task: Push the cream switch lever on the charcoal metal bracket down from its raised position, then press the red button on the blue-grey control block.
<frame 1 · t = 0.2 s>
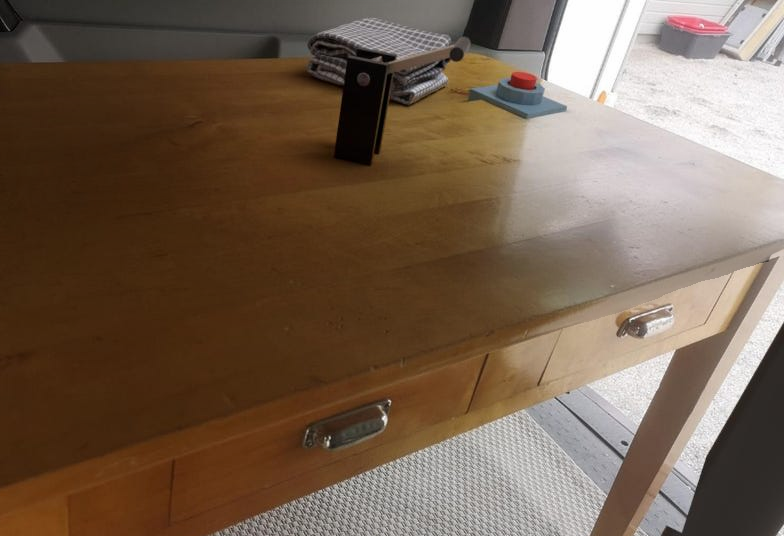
switch bracket: (355, 166, 90), on the table
control block: (514, 111, 113), on the table
lever: (411, 61, 82), point 13 cm above the table, hinge at 25.0°
button: (522, 81, 110), point 4 cm above the table, slide at 0.1 cm
towel: (377, 84, 117), on the table
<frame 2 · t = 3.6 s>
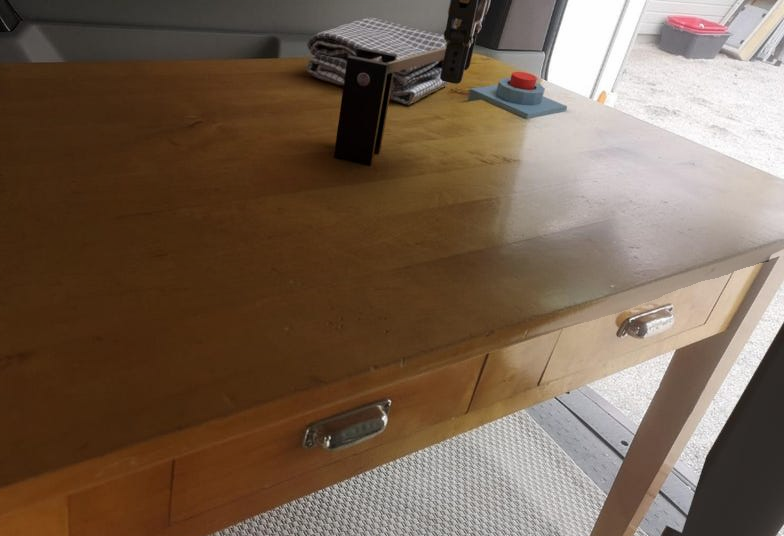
hand: (454, 73, 81), 13 cm above the table, tool pointing down, fingers closed on lever, 5 cm apart
lever: (411, 61, 82), point 13 cm above the table, hinge at 25.0°, touching gripper
everything else where it was.
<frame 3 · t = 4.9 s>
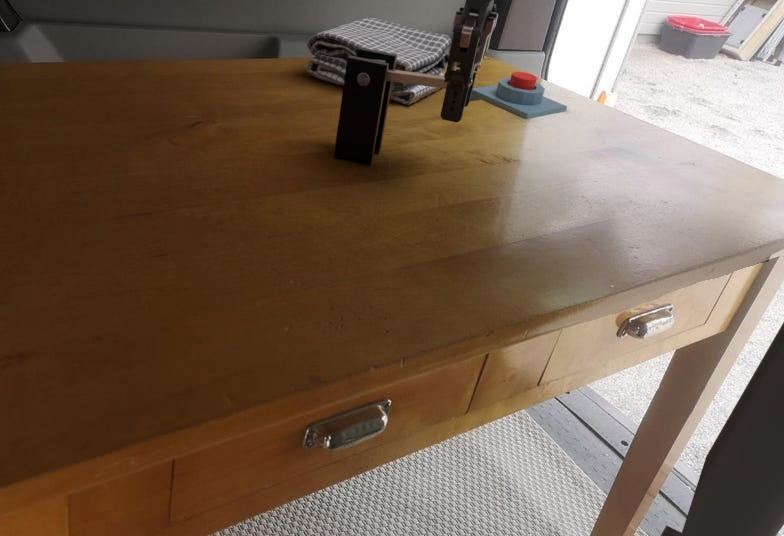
hand: (454, 111, 83), 9 cm above the table, tool pointing down, fingers closed on lever, 5 cm apart
lever: (411, 78, 83), point 11 cm above the table, hinge at 3.8°, touching gripper
everything else where it was.
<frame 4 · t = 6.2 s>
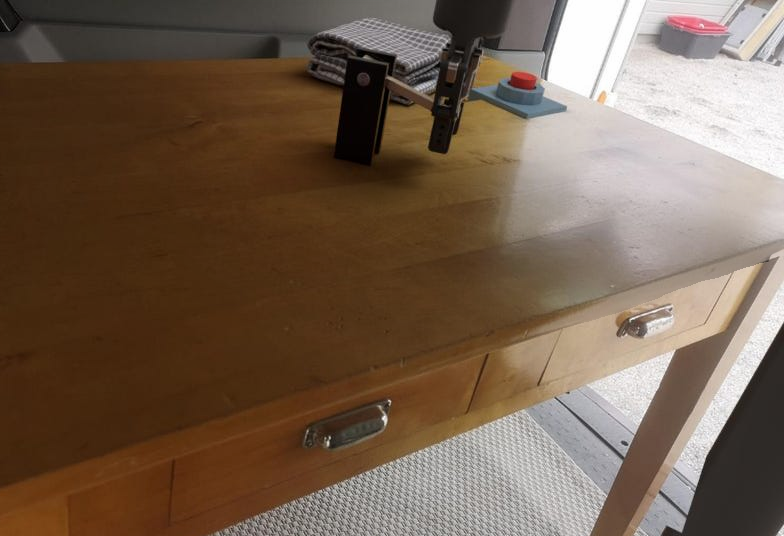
hand: (442, 141, 85), 5 cm above the table, tool pointing down, fingers open, 6 cm apart
lever: (407, 92, 84), point 10 cm above the table, hinge at -15.6°
everything else where it was.
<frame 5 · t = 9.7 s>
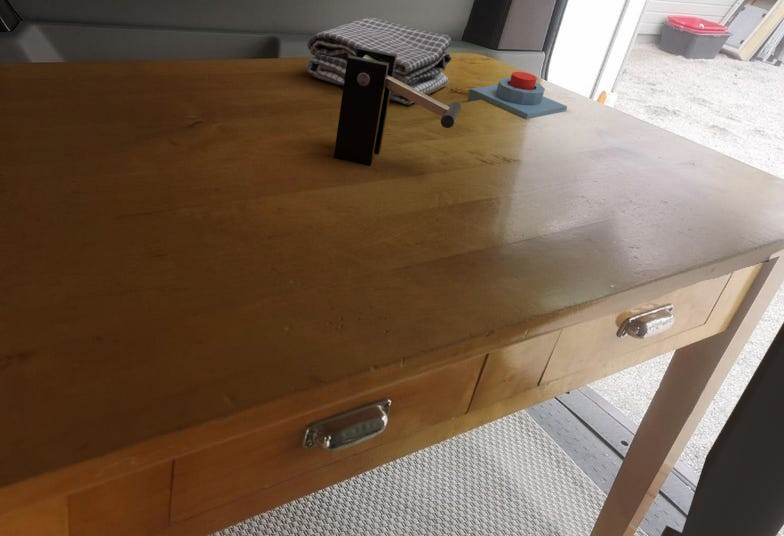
nothing on the table moved.
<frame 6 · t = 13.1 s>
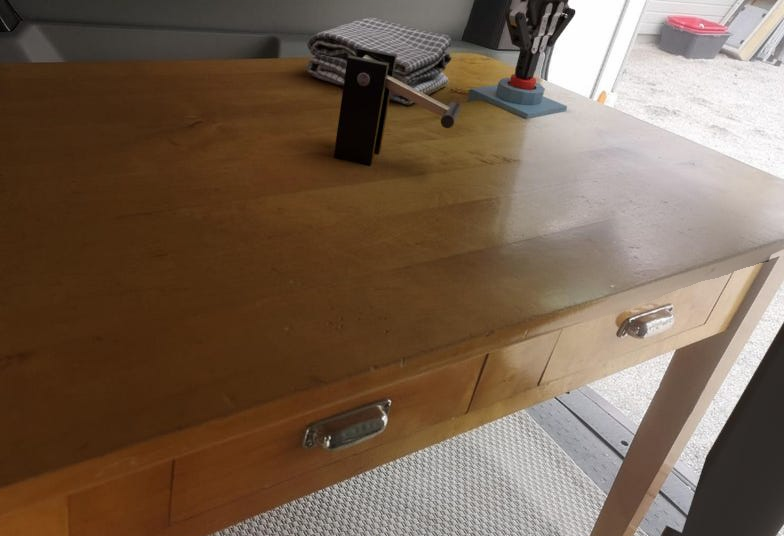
hand: (523, 77, 110), 5 cm above the table, tool pointing down, fingers closed
button: (522, 83, 111), point 4 cm above the table, slide at -0.2 cm, touching gripper
everything else where it was.
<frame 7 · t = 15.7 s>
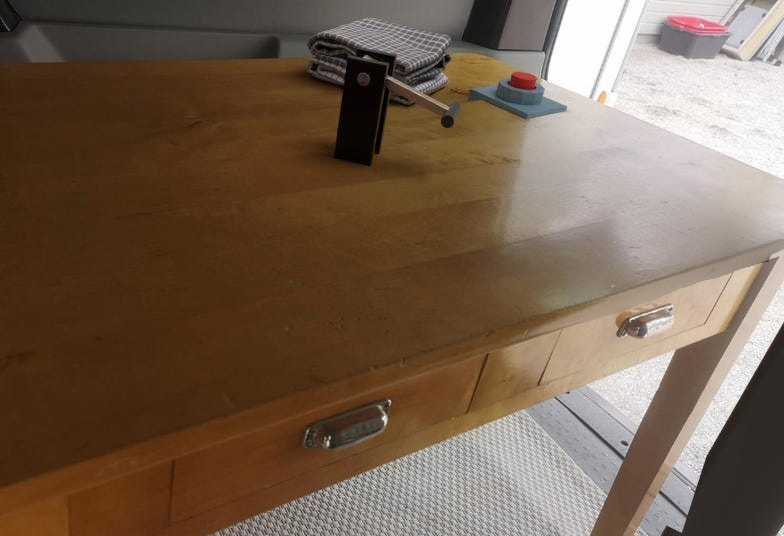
button: (522, 81, 110), point 4 cm above the table, slide at 0.1 cm
everything else where it was.
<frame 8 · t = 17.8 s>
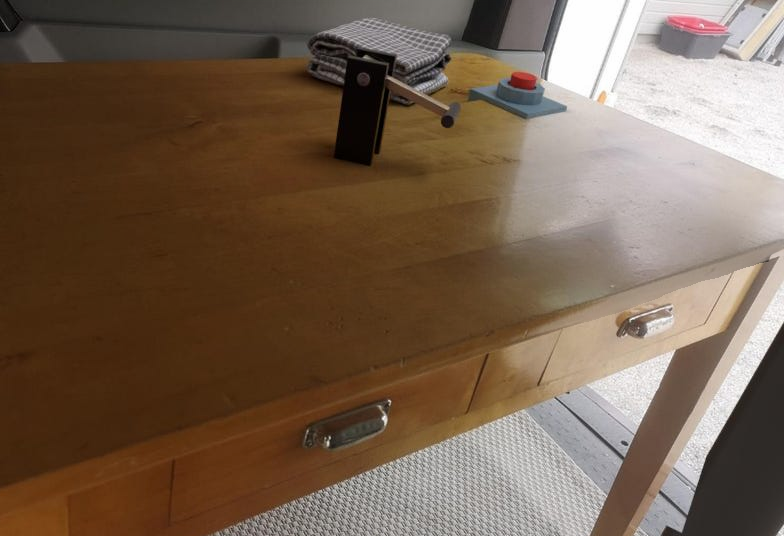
nothing on the table moved.
at the end: lever at -16° (first picture: +25°); button pushed in 1.1 cm at the most during the clip, back to where it started at the end; button slide at 0.1 cm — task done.
